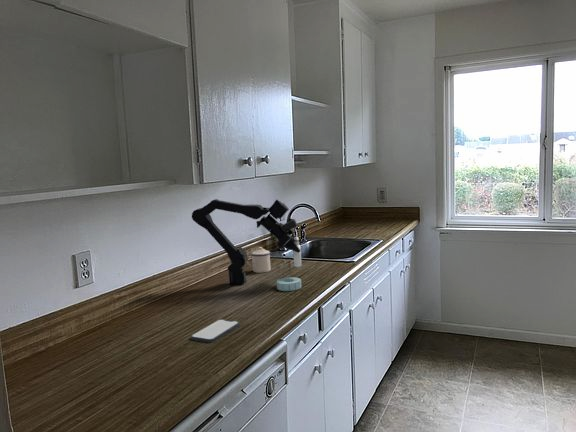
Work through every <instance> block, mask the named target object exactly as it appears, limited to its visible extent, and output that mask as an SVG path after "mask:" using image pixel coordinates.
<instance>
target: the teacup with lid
mask: <svg viewBox="0 0 576 432" xmlns="http://www.w3.org/2000/svg"><path fill="white" fill-rule="evenodd" d="M270 256H271V251H269V250H266V249H265V248H263V247H262V246H259V247H257V249H256V250H255V251H252V252H251V254H250V255H249V256H248V260H247V262H246V264H247V265H248V266H250V267H252V271H253V273H258V274H261V273H262V274H263V273H268V272H270V271H271V257H270ZM250 258H252V260H251V262H252V263H250V261H249V259H250Z"/></svg>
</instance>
